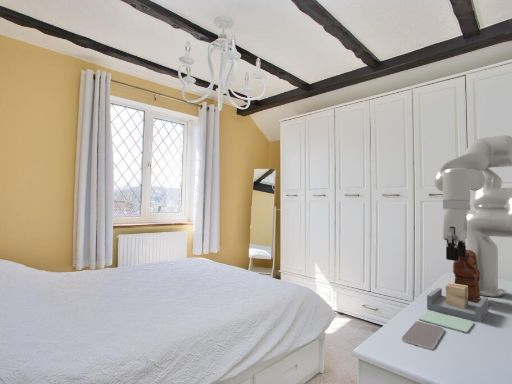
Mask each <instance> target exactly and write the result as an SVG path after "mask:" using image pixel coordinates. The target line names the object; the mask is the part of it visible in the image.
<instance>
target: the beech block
mask: <svg viewBox="0 0 512 384" xmlns="http://www.w3.org/2000/svg"><path fill="white" fill-rule="evenodd" d="M445 295H446V304H448V305H452V306H457V307H461V308H465V307H466V306H467V305H468V286H466V285H460V284H455V282H454V283H453V282H449V283H447V284H446V285H445Z"/></svg>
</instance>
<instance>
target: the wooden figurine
mask: <svg viewBox="0 0 512 384" xmlns="http://www.w3.org/2000/svg"><path fill="white" fill-rule="evenodd" d="M477 268H478V266H477V259H476V254H475V253H474V252H473V251H471V250H467V249H466V257H459V260H458V261H453V264H452V272H453V274H454V283H455V284H460V285H466V286H468V301H469V302H474V303H478V302H479V301H480V298H481V297H480V296H481V295H479V294H480V289H479V283H478V281H479V278H480V273H479V270H478V269H477Z"/></svg>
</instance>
